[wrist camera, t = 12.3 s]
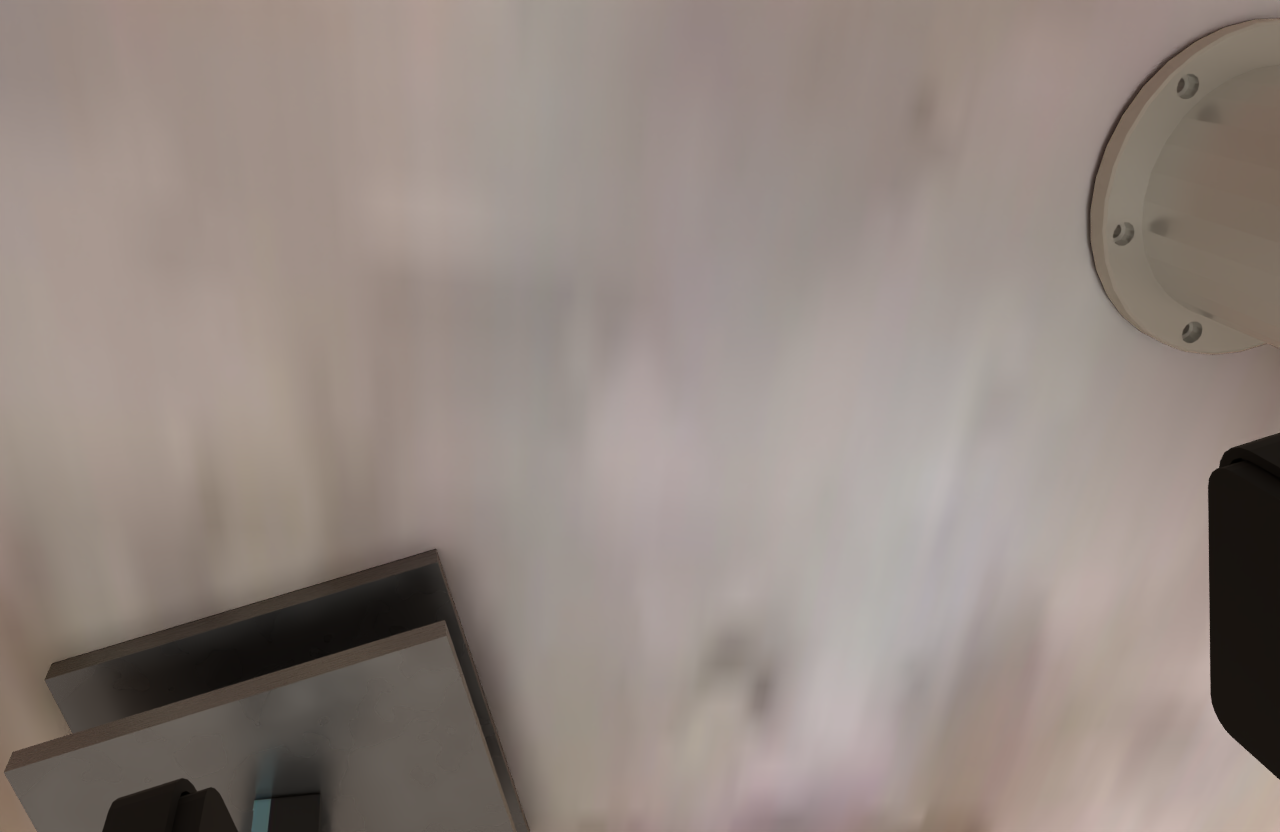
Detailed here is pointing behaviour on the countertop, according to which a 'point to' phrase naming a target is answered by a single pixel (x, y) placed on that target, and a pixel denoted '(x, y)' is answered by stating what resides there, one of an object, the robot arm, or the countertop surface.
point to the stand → (287, 714)
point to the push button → (287, 814)
